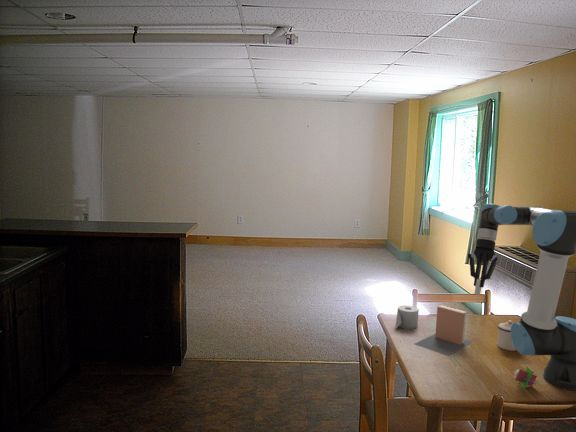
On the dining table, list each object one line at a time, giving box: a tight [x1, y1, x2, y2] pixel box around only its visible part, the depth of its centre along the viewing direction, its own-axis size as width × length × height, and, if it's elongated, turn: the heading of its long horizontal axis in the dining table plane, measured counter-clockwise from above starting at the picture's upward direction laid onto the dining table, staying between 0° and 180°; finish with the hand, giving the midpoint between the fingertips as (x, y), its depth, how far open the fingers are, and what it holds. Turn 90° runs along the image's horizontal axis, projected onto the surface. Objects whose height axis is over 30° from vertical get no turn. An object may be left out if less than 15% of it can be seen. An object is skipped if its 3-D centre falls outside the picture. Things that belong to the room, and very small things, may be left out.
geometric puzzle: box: [513, 366, 538, 390], centre depth 177 cm, size 7×7×8 cm
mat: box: [414, 333, 473, 356], centre depth 215 cm, size 22×16×1 cm
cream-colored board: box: [434, 305, 467, 345], centre depth 217 cm, size 3×12×14 cm, turn 44°
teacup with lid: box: [496, 319, 517, 352], centre depth 214 cm, size 12×9×12 cm
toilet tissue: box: [394, 304, 420, 330], centre depth 233 cm, size 9×13×9 cm
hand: (477, 294), depth 210 cm, fingers closed
